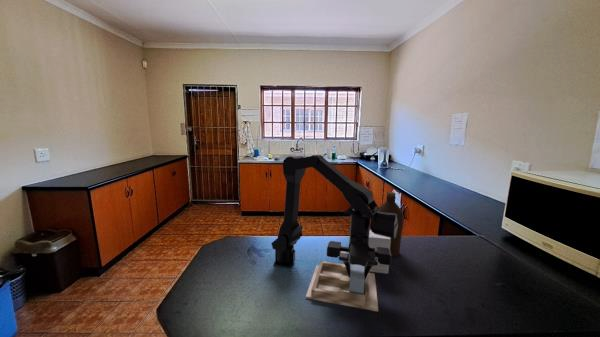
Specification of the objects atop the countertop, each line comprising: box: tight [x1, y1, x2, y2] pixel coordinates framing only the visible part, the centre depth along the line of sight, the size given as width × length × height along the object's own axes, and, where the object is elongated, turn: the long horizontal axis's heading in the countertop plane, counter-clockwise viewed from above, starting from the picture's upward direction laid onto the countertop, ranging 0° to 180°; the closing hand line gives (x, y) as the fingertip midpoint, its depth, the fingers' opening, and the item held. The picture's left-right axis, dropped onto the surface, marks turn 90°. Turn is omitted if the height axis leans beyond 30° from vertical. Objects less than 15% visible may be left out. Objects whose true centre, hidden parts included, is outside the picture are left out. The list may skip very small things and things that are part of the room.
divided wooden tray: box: [305, 260, 379, 312], centre depth 76 cm, size 20×18×3 cm
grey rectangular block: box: [349, 264, 365, 295], centre depth 74 cm, size 4×13×6 cm, turn 166°
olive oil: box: [378, 191, 405, 258], centre depth 98 cm, size 11×11×25 cm
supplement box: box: [369, 229, 391, 275], centre depth 86 cm, size 7×7×13 cm
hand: (356, 278), depth 74 cm, fingers closed on grey rectangular block, 4 cm apart
